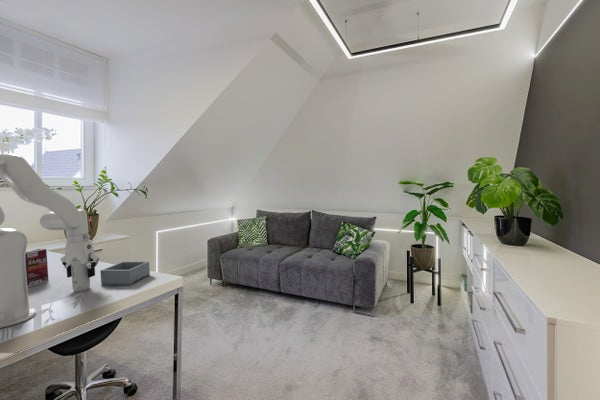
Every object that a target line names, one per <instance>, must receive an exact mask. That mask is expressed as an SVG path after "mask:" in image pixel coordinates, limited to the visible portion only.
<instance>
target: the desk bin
mask: <svg viewBox="0 0 600 400" xmlns="http://www.w3.org/2000/svg"><path fill="white" fill-rule="evenodd" d="M150 271H151V270H150V261H120V262H118V263H116V264H113V265H111V266H109V267H106V268H104V269H100V283H101V284H100V285H101V286H106V287H107V286H108V287H110V286H115V287H117V286H118V287H120V286H121V287H122V286H123V287H128V286H129V287H131V286H133V285H135V284H136V283H139V282H140V281H141V280H143V279H146V278H148V277H149V276H150V274H151V272H150Z"/></svg>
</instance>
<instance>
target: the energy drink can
mask: <svg viewBox="0 0 600 400" xmlns="http://www.w3.org/2000/svg"><path fill="white" fill-rule="evenodd" d="M87 269H88V267H87V266H86V264H81V262H80V260H78V259H77V257H75V258H74V257H73V259H72V260H71V273H72V277H71V285H72V290H73V291H74V292H75V293H79V292H84V291H87V290H89V288H90V287H91V280H90V278H91V277H90V278H88V273H87Z"/></svg>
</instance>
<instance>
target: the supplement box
mask: <svg viewBox="0 0 600 400" xmlns="http://www.w3.org/2000/svg"><path fill="white" fill-rule="evenodd" d="M47 254H48V253H47V248H38V249H37V248H36V249H31V250H28V251H27V250H26V255H25V267H26V277H27V288H31V287H34V286H37V285H40V284H44V283H47V282H49V269H48V268H49V267H48V256H47Z"/></svg>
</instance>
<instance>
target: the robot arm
mask: <svg viewBox="0 0 600 400" xmlns="http://www.w3.org/2000/svg"><path fill="white" fill-rule="evenodd" d="M0 179H2V180H3V181H4V182H5V183H6V184H7V185H8V186H9V187H10V188H11V189H12V191H13V192H14V194H16V195H17V196H18V197H19V198H20V199H21V200H22V201H25V202H27V203H30V204H32V205H36V206H40V207H42V208H45V209H47V210H50V212H46V213H43V215H41V217H40V219H39V224H40V226H41V227H42V228H44V229H46V230H48V231H62V230H63V231H65V234H66V241H65V242H66V243H65V249H64V250H65V255H63V256H62V257H60V261H61V263H62V265H63V266H64V269H66V278H72V273H71V260H72V259H73V257H74V258H75V257H77V259H78V260H80V262H81V264H86V266H87V267H88V269H87V273H88V278H92V277H94V276H96V267H97V265H98V263H99V260H100V257H99V256H97V255H95V250H94V245H93V242H92V239H91V235H90V234H89V223H88V213H87V210H85V209H81V208H80V209H78V208H77V206H75V204H74V202H72V201H71V200H70V199H68V198H67V197H65V196H64V195H62V194H60V193H59V192H57V191H55V190H53V189H52V188H50V187H49V186H47V184H46V183H45V182H44V181H43V179H42V178H41V177H40V176H39V174H38V173H37V172H36V171H35V169H34V168H33V167H32V166H31V165H30V163H28V161H27V160H26V159H25V158H24V157H23V156H21V155H18V154H15V153H0ZM5 219H6V216H5V212H4V210H3V208H2V207H1V206H0V226H1V225H2V224H4V222H5ZM27 247H28V239H27V236H26V235H25V233H24V232H22V231H21V230H18V229H15V228H6V227H3V228H2V227H0V329H2V328H7V327H10V326H14V325H17V324H21V323H23V322H25V321H27V320H30V319H31V318H33V317H34V316H35V315H36V314H37V313H36V311H37V310H36V309H34V308H30V303H29V290H28V287H27V277H26V267H25V255H26V251H27V250H28V249H27Z"/></svg>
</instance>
